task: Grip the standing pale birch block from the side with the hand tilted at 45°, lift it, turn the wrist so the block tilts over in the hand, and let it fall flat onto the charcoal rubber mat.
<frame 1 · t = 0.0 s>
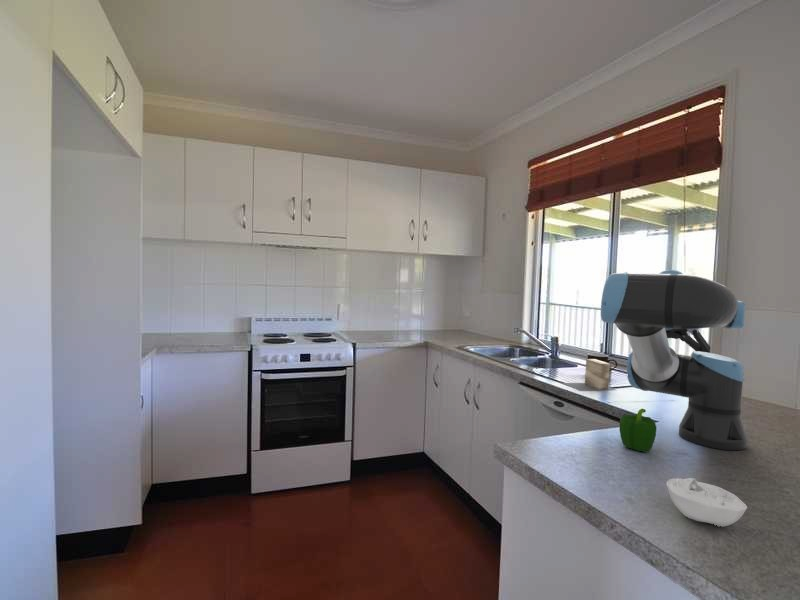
hand: (673, 362, 149), 15 cm above the counter, tool tilted 35°, fingers open, 13 cm apart
coffee mug: (599, 378, 191), on the counter
bell pepper: (637, 449, 111), on the counter
birch block: (596, 386, 173), point 1 cm above the counter, touching mat
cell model: (702, 520, 78), on the counter
mat: (588, 387, 172), on the counter
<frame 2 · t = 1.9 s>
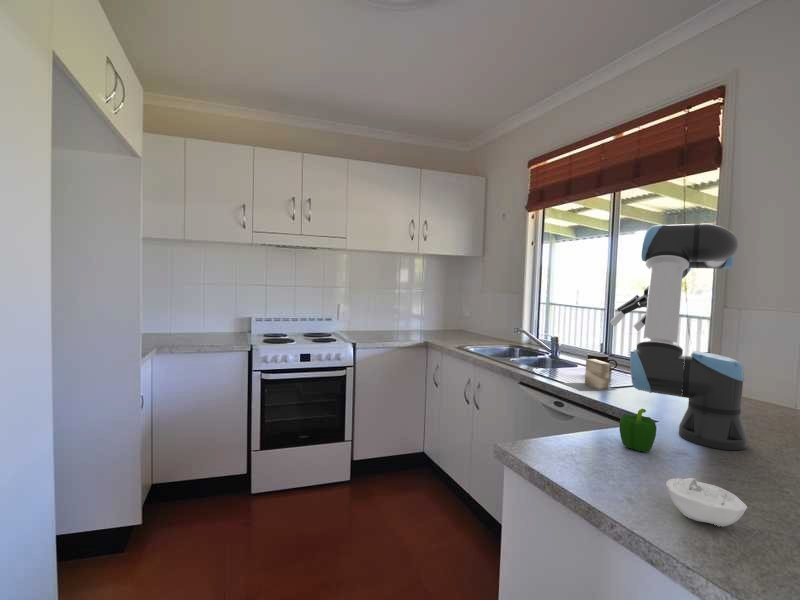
hand: (623, 326, 174), 25 cm above the counter, tool tilted 45°, fingers open, 13 cm apart
nothing on the counter moved.
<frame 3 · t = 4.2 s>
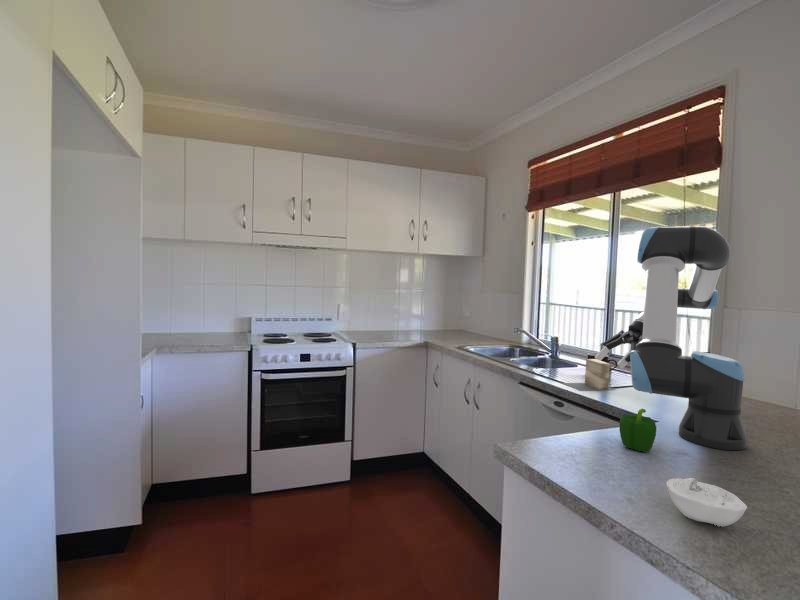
hand: (607, 363, 175), 10 cm above the counter, tool tilted 45°, fingers open, 13 cm apart
nothing on the counter moved.
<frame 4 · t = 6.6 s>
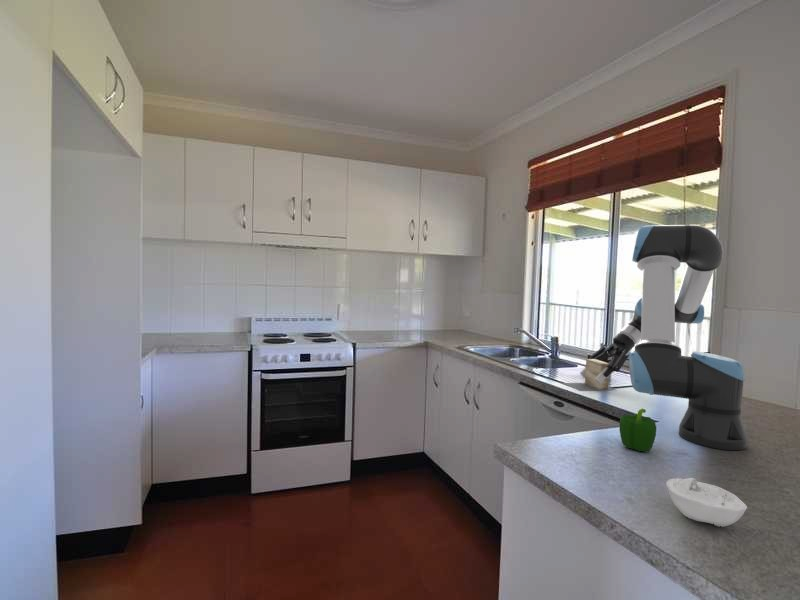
hand: (589, 378, 173), 4 cm above the counter, tool tilted 45°, fingers closed on birch block, 9 cm apart
birch block: (596, 386, 173), point 1 cm above the counter, touching gripper, mat
everything else where it was.
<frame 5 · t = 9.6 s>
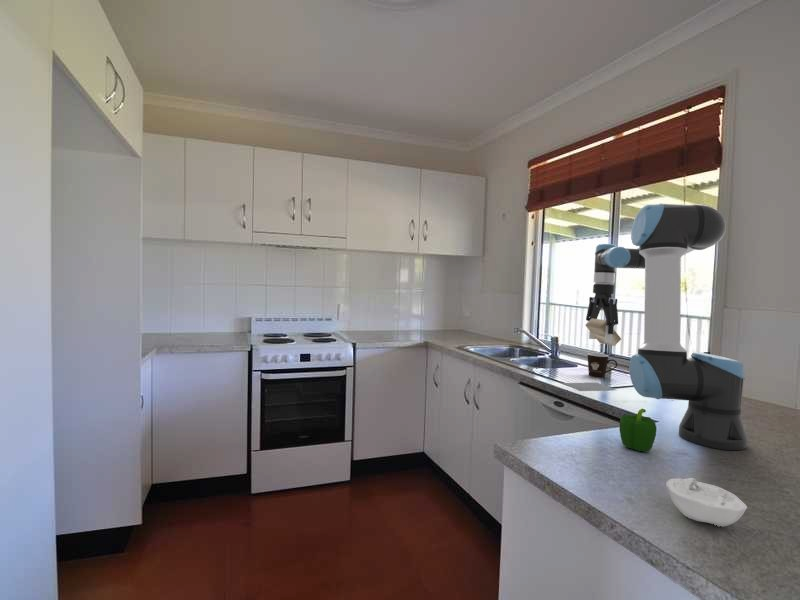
hand: (600, 340, 172), 19 cm above the counter, tool pointing down, fingers closed on birch block, 9 cm apart
birch block: (610, 340, 173), point 19 cm above the counter, tilted 44°, touching gripper
everything else where it was.
when the fingers open (4 cm above the counter, at t = 12.7 s): birch block drops 1 cm and tips over, resting on mat.
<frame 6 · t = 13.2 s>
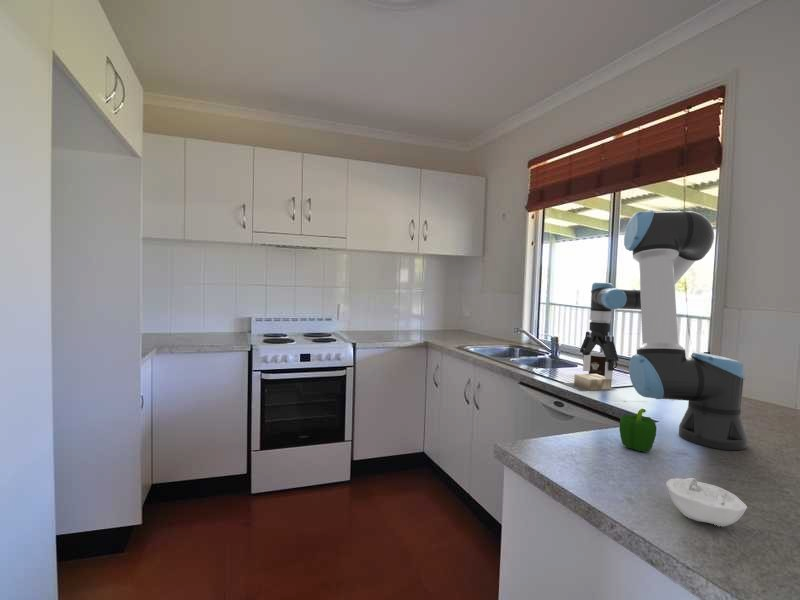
hand: (596, 374, 173), 5 cm above the counter, tool pointing down, fingers open, 13 cm apart
birch block: (603, 381, 174), point 3 cm above the counter, tilted 90°, touching mat
everything else where it was.
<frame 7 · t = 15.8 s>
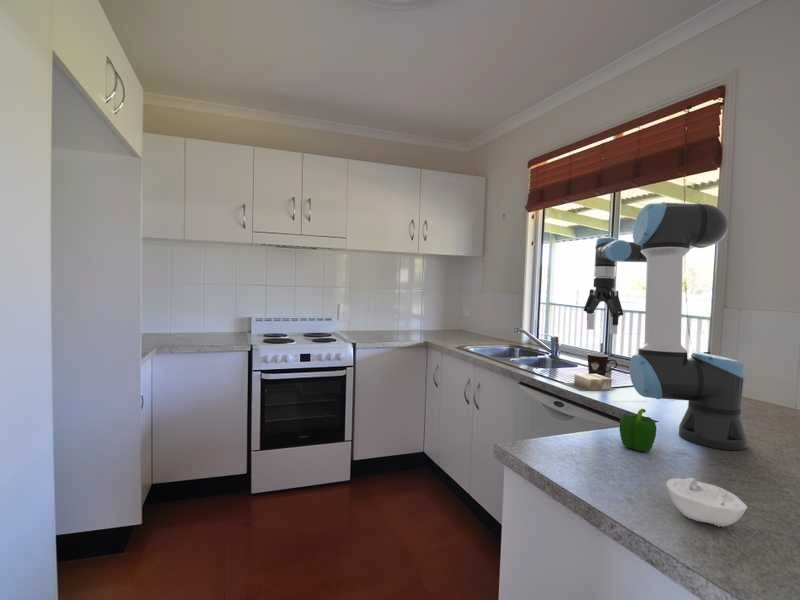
hand: (601, 331, 171), 23 cm above the counter, tool pointing down, fingers open, 13 cm apart
nothing on the counter moved.
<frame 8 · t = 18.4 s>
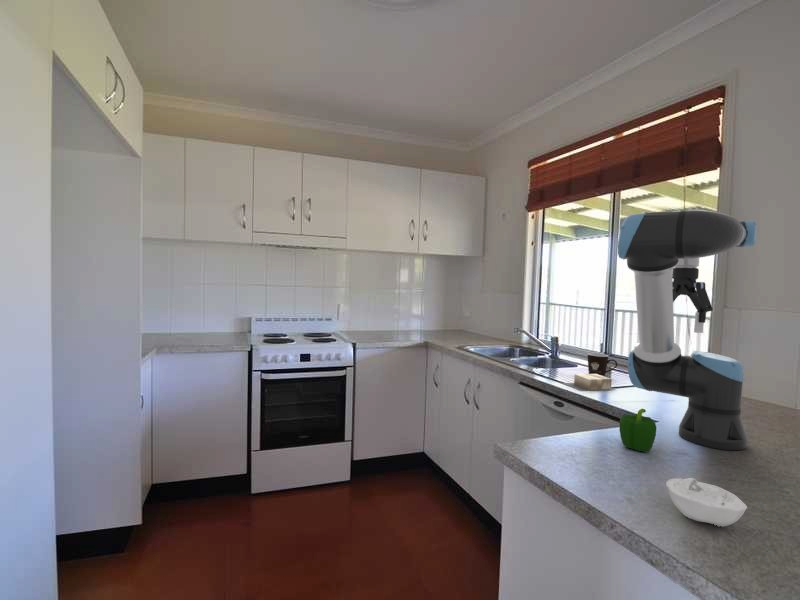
hand: (681, 330, 148), 27 cm above the counter, tool pointing down, fingers open, 13 cm apart
nothing on the counter moved.
at the end: birch block tilted 90°; birch block 6.5 cm from the mat (horizontally); birch block point 2.6 cm above the counter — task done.
